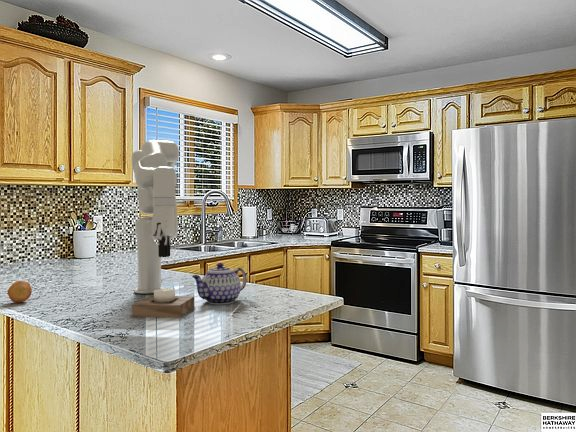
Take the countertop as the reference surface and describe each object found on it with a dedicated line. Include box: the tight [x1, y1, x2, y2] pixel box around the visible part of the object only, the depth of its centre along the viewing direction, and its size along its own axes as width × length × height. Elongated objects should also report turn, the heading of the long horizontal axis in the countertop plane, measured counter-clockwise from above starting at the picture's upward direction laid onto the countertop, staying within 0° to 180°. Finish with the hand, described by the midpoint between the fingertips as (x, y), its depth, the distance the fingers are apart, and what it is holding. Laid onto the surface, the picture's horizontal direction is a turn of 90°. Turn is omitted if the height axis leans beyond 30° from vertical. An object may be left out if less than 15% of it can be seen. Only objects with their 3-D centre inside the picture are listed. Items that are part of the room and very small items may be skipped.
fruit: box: [7, 280, 33, 303], centre depth 176 cm, size 8×8×8 cm
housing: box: [131, 295, 195, 319], centre depth 158 cm, size 16×16×4 cm
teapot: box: [191, 262, 248, 305], centre depth 175 cm, size 25×15×15 cm, turn 132°
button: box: [153, 287, 176, 302], centre depth 158 cm, size 7×7×4 cm
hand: (164, 256), depth 158 cm, fingers closed
